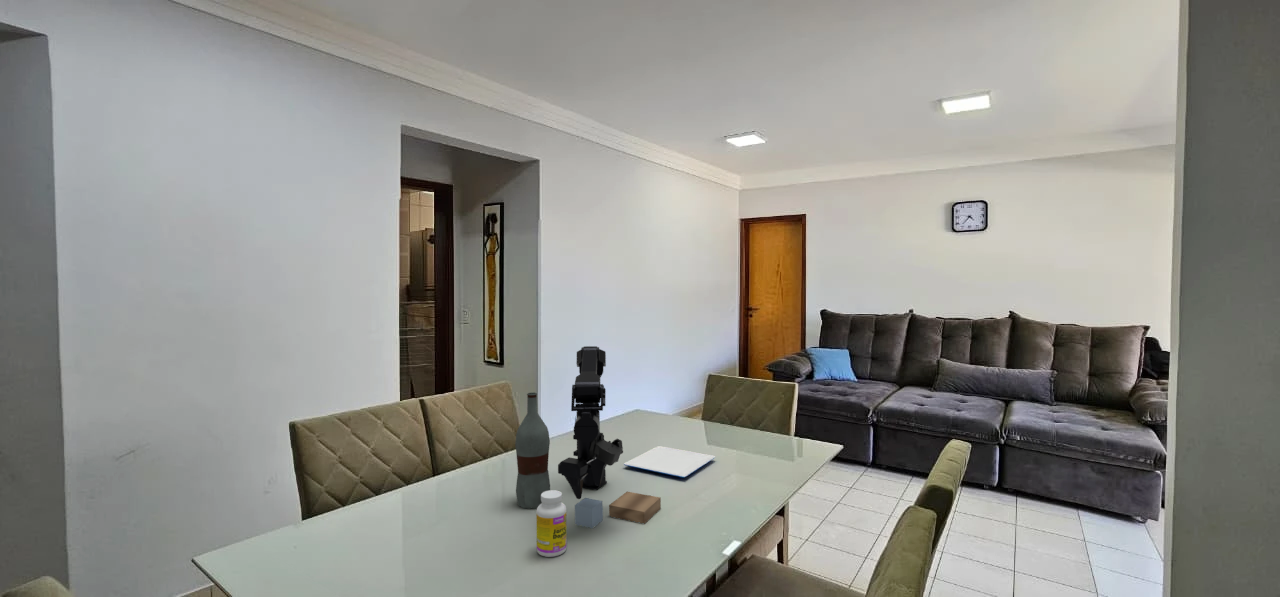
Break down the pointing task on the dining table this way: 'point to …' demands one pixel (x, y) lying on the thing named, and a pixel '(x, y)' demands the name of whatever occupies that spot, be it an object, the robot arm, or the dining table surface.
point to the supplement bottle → (551, 524)
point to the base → (635, 507)
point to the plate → (670, 461)
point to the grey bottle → (532, 457)
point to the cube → (588, 512)
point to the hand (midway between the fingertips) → (588, 492)
